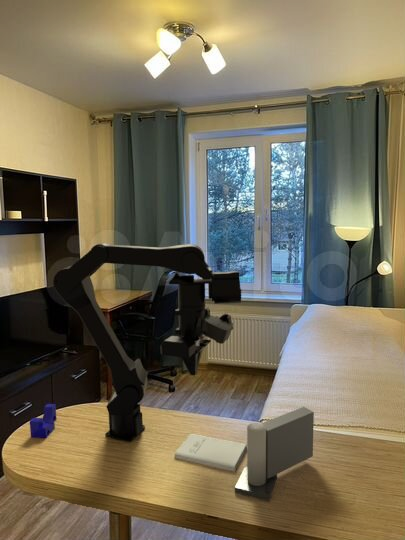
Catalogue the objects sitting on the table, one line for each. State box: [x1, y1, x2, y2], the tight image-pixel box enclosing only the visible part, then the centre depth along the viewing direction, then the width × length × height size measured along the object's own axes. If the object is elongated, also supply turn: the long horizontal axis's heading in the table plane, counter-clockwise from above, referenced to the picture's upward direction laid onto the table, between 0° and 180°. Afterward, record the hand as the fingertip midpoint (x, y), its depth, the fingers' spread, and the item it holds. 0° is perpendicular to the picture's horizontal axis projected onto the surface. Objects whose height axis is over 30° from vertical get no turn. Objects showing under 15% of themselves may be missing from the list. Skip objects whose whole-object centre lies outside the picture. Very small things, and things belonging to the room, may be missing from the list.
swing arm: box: [246, 406, 315, 486], centre depth 74 cm, size 3×15×10 cm, turn 124°
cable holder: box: [29, 403, 57, 439], centre depth 92 cm, size 8×4×4 cm, turn 174°
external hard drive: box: [174, 433, 247, 472], centre depth 82 cm, size 2×8×12 cm
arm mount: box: [234, 466, 278, 502], centre depth 72 cm, size 6×6×1 cm
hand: (193, 374), depth 88 cm, fingers closed
